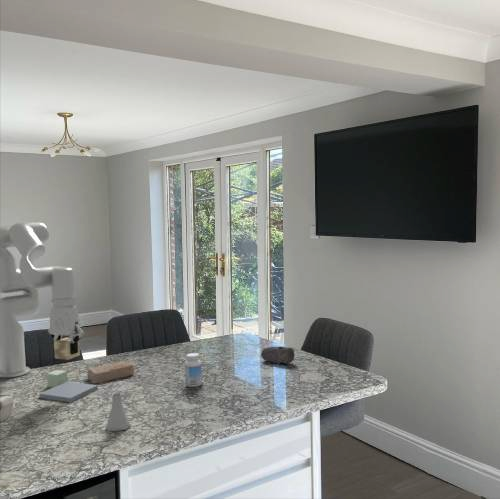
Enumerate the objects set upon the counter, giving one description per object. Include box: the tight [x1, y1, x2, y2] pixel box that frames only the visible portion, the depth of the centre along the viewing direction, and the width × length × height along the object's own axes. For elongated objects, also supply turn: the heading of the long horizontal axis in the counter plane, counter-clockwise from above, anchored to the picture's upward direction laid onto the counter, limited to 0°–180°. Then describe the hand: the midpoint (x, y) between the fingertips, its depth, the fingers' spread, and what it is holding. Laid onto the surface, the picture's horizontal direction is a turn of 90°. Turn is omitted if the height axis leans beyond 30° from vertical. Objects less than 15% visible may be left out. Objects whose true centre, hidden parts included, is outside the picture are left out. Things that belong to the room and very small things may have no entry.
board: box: [39, 381, 99, 403], centre depth 191 cm, size 14×14×2 cm
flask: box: [105, 392, 131, 432], centre depth 159 cm, size 7×7×10 cm
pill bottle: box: [184, 352, 203, 388], centre depth 197 cm, size 6×6×11 cm
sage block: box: [46, 369, 68, 388], centre depth 201 cm, size 5×5×5 cm
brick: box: [86, 360, 135, 384], centre depth 210 cm, size 17×8×5 cm, turn 127°
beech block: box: [53, 337, 81, 361], centre depth 191 cm, size 6×6×6 cm
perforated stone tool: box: [260, 346, 295, 365], centre depth 222 cm, size 15×5×7 cm, turn 56°
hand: (67, 352), depth 190 cm, fingers closed on beech block, 6 cm apart
